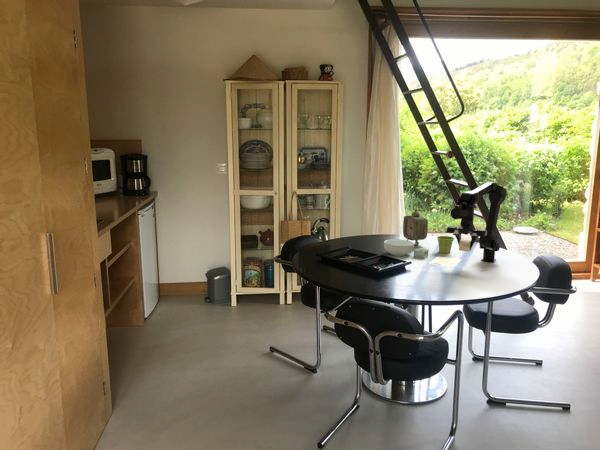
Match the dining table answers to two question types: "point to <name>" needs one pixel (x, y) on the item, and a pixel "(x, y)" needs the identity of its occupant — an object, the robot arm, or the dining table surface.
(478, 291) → the dining table surface
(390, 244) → the cereal bowl
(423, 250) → the translucent green block
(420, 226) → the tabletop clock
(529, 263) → the dining table surface
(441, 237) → the plant pot
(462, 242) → the cube
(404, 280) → the dining table surface
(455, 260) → the letter
